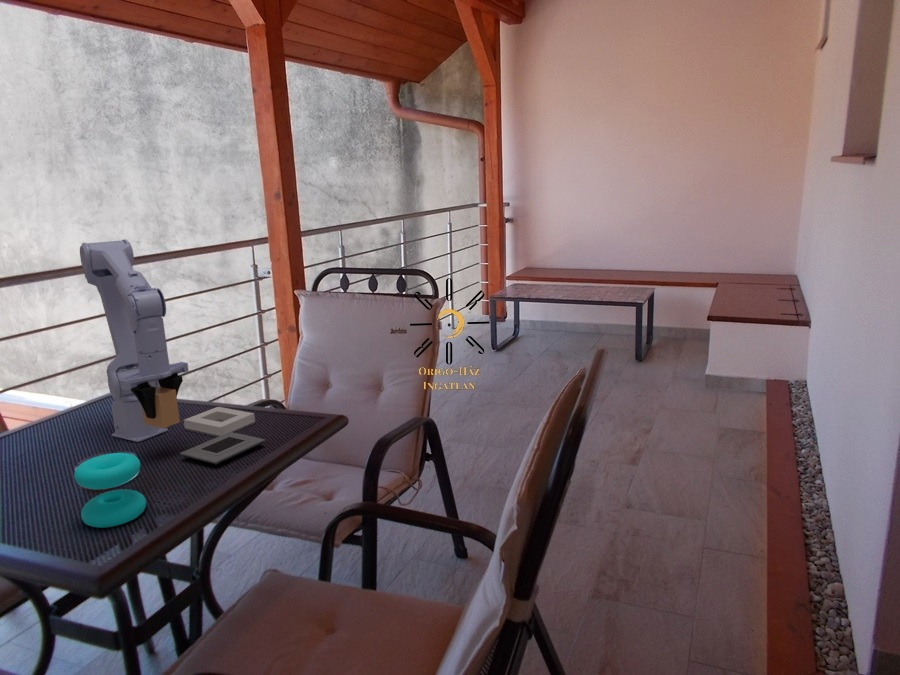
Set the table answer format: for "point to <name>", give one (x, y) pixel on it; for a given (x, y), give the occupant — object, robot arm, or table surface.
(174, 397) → the plug
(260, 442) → the electrical outlet
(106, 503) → the donuts
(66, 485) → the table surface
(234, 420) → the socket block
